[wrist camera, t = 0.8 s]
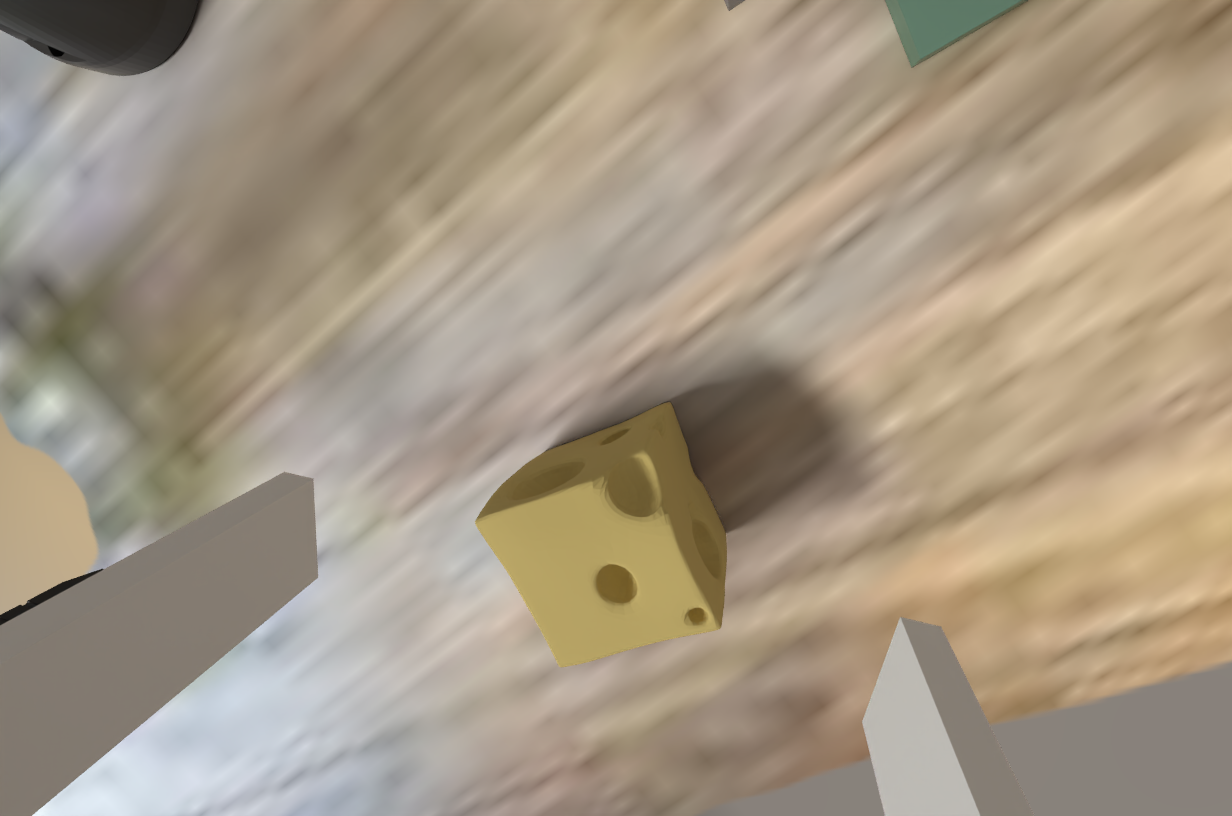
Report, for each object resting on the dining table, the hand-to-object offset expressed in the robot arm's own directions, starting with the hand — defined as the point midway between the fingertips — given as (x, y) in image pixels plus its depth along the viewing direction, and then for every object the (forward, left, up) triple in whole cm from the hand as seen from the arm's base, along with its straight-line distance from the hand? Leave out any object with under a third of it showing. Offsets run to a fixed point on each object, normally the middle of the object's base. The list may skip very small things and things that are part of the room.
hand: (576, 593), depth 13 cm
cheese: (+7, -7, -24) cm, 26 cm away
